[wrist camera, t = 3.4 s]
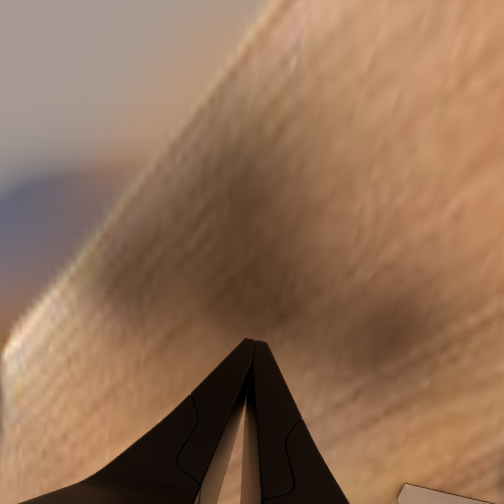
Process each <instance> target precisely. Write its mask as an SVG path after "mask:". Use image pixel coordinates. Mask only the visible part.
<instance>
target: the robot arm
mask: <svg viewBox="0 0 504 504" xmlns="http://www.w3.org/2000/svg"><path fill="white" fill-rule="evenodd" d="M255 343H256V344H255ZM254 349H255V350H254ZM253 355H254V356H253ZM252 361H253V362H252ZM251 367H252V368H251ZM250 373H251V374H250ZM249 379H250V380H249ZM248 385H249V386H248ZM247 391H248V392H247ZM246 397H247V398H246ZM245 402H246V405H245ZM244 406H245V421H244V441H243V460H242V480H241V500H240V504H350V503H349V502H348V500H347V498H346V497H345V495H344V493H343V492H342V490H341V488H340V487H339V485H338V483H337V482H336V480H335V478H334V477H333V475H332V473H331V472H330V470H329V468H328V466H327V465H326V463H325V461H324V459H323V458H322V456H321V454H320V452H319V451H318V449H317V447H316V445H315V443H314V441H313V439H312V437H311V435H310V433H309V431H308V429H307V427H306V424H305V422H304V420H303V419H302V416H301V414H300V412H299V410H298V408H297V405H296V403H295V401H294V399H293V397H292V395H291V393H290V390H289V388H288V386H287V384H286V382H285V380H284V378H283V376H282V373H281V371H280V369H279V367H278V365H277V363H276V361H275V358H274V356H273V354H272V352H271V350H270V348H269V346H268V344H267V342H263V341H258V340H257V341H255V340H253V339H248V338H245V339H244V340H243V341H242V342H241V343H240V344H239V345H238V346H237V347H236V348H235V349H234V350H233V351H232V352H231V353H230V354H229V355H228V356H227V357H226V358H225V359H224V360H223V361H222V362H221V363H220V364H219V365H218V366H217V367H216V368H215V369H214V370H213V371H212V372H211V373H210V374H209V375H208V376H207V377H206V378H205V379H204V380H203V381H202V382H201V383H200V384H199V385H198V386H197V387H196V388H195V389H194V390H193V391H192V392H191V395H190V394H189V395H188V396H187V397H186V398H185V399H184V400H183V401H182V402H181V403H180V404H179V405H178V406H177V407H176V408H175V409H174V410H173V411H172V412H171V413H170V414H169V415H168V416H166V417H165V418H164V419H163V420H162V421H160V422H159V423H158V424H157V425H156V426H154V427H153V428H152V429H151V430H150V431H148V432H147V433H146V434H145V435H143V436H142V437H141V438H140V439H138V440H137V441H136V442H135V443H134V444H132V445H131V446H130V447H129V448H127V449H126V450H125V451H124V452H122V453H121V454H120V455H119V456H117V457H116V458H115V459H114V460H112V461H111V462H110V463H109V464H107V465H106V466H105V467H103V468H102V469H101V470H99V471H98V472H96V473H95V474H93V475H91V476H90V477H88V478H86V479H84V480H82V481H80V482H78V483H76V484H73V485H70V486H67V487H64V488H62V489H59V490H56V491H53V492H50V493H47V494H44V495H41V496H38V497H36V498H33V499H30V500H27V501H24V502H21V503H18V504H217V500H218V497H219V493H220V490H221V487H222V483H223V480H224V476H225V473H226V469H227V466H228V462H229V459H230V455H231V452H232V448H233V445H234V442H235V438H236V435H237V431H238V428H239V424H240V421H241V417H242V414H243V410H244Z"/></svg>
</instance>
